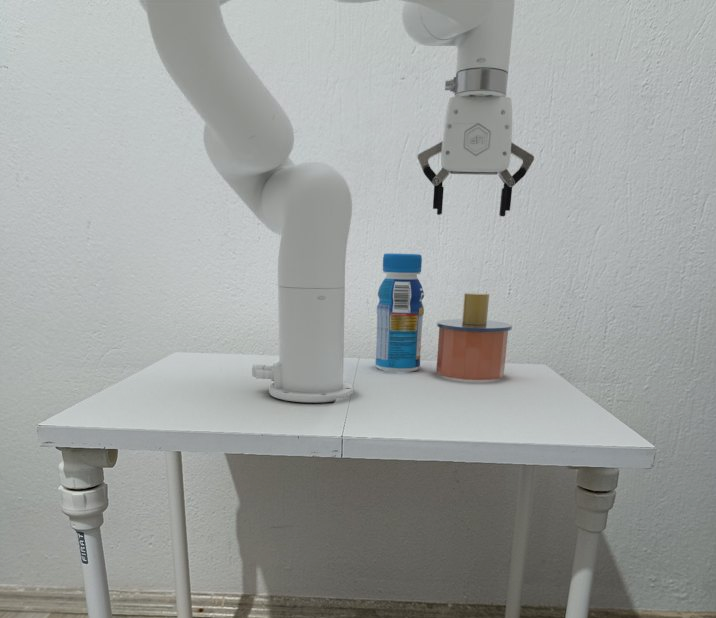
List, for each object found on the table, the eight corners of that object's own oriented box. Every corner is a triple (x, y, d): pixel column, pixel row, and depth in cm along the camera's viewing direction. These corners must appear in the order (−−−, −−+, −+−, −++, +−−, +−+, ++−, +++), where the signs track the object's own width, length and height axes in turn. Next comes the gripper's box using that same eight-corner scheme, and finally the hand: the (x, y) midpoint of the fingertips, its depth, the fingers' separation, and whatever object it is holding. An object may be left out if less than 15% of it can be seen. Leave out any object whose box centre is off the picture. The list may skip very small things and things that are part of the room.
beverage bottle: (365, 368, 121) (368, 253, 115) (393, 363, 127) (398, 253, 121) (402, 374, 116) (407, 254, 109) (429, 369, 122) (436, 254, 115)
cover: (435, 333, 109) (437, 294, 107) (437, 324, 121) (439, 289, 118) (514, 337, 107) (518, 297, 105) (508, 327, 119) (512, 292, 117)
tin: (435, 381, 112) (438, 329, 109) (437, 368, 123) (440, 322, 120) (505, 384, 110) (510, 332, 107) (500, 372, 121) (505, 324, 118)
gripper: (420, 83, 94) (413, 212, 100) (544, 83, 92) (530, 215, 98) (422, 94, 101) (415, 214, 107) (538, 95, 99) (525, 217, 105)
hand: (470, 215), depth 102 cm, fingers open, 9 cm apart
